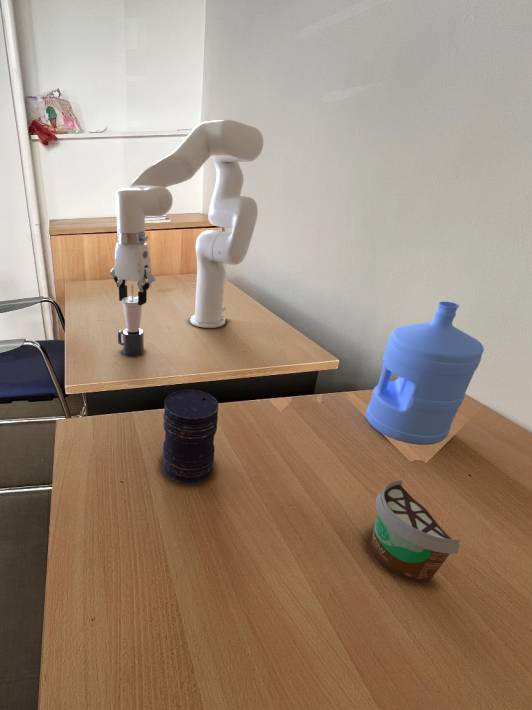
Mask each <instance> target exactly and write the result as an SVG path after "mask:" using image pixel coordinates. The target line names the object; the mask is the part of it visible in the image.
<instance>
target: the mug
mask: <svg viewBox="0 0 532 710" xmlns="http://www.w3.org/2000/svg"><path fill="white" fill-rule="evenodd" d="M117 343H118V345H120V346H123V354H124V355H125V356H126V357H127V356H128V357H139V356H142V355H143V354H144V352H145V351H144V347H145V346H144V345H145V344H144V329H142V328H139V331H138V332H128V331H127V328H125V329H124V330H121V329H118V330H117Z"/></svg>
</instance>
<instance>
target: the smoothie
mask: <svg viewBox="0 0 532 710" xmlns="http://www.w3.org/2000/svg"><path fill="white" fill-rule="evenodd" d="M134 290H135V289H134V284H133V283H131V295H130V296H129V295H128V296H127V297H125V298H123V299H122V301H121V304H122V307H123V314H124V319H125V325H126V329H127V331H128V332H138V331H139V328H140V327H141V319H142V311H143V309H142V308H143V305H138V295H137V296H136V295H135V294H134V292H135V291H134ZM140 329H141V328H140Z"/></svg>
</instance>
